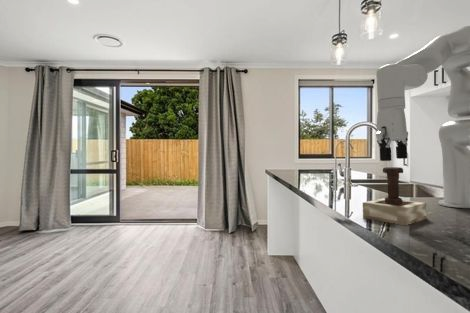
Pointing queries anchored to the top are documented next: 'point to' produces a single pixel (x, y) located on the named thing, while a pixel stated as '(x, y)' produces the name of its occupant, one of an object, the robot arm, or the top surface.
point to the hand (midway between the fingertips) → (394, 159)
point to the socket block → (395, 211)
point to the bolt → (393, 185)
